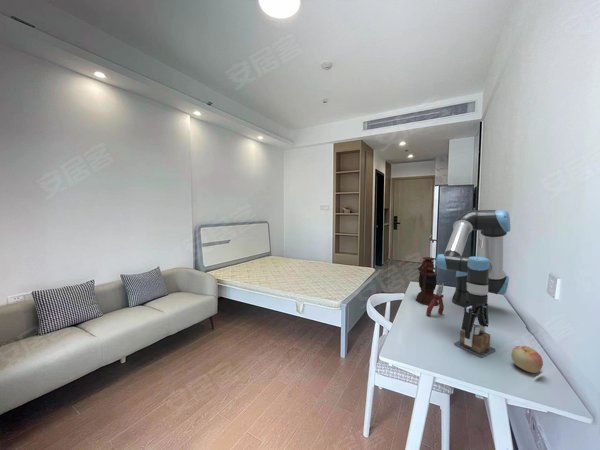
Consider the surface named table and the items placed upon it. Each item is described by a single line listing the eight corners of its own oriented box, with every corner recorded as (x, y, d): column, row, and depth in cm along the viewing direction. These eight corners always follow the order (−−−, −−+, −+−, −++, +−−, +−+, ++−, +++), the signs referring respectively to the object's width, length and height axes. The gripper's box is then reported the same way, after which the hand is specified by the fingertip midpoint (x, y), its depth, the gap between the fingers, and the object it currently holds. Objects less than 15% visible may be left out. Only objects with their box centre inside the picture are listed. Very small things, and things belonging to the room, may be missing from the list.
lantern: (434, 309, 148) (436, 261, 146) (411, 303, 158) (412, 258, 156) (442, 301, 161) (443, 257, 159) (420, 296, 170) (421, 254, 169)
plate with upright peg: (468, 339, 114) (469, 318, 113) (495, 351, 104) (496, 328, 104) (454, 344, 109) (455, 323, 108) (481, 358, 99) (482, 334, 99)
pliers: (436, 284, 133) (432, 282, 135) (428, 317, 137) (424, 314, 139) (450, 283, 137) (446, 281, 139) (443, 314, 141) (439, 312, 143)
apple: (527, 362, 97) (528, 343, 96) (549, 377, 88) (550, 356, 87) (504, 361, 97) (505, 342, 97) (523, 376, 88) (525, 355, 88)
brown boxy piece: (469, 339, 112) (470, 326, 112) (489, 347, 105) (490, 334, 104) (459, 343, 108) (460, 330, 108) (479, 352, 101) (480, 339, 101)
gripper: (481, 286, 113) (478, 332, 115) (453, 293, 103) (451, 344, 105) (500, 291, 107) (497, 340, 108) (472, 299, 97) (469, 353, 98)
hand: (474, 342), depth 106 cm, fingers open, 9 cm apart
